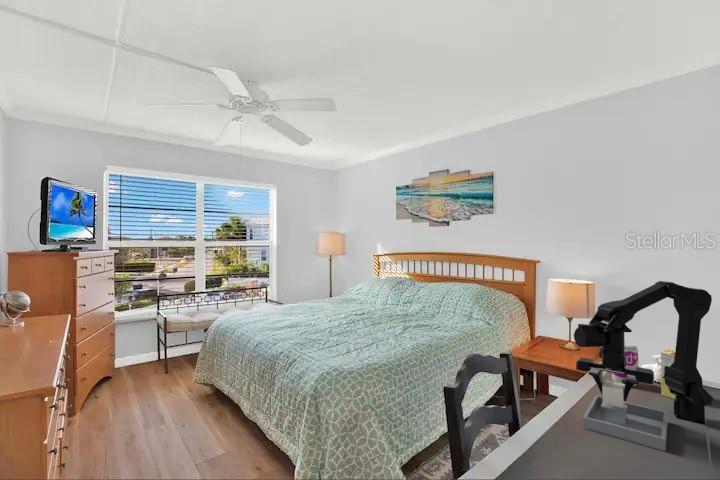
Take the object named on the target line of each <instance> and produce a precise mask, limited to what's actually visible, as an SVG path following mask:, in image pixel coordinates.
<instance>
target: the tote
mask: <svg viewBox="0 0 720 480" xmlns="http://www.w3.org/2000/svg"><path fill="white" fill-rule="evenodd" d="M602 402H603V396H602V395H594V397H593V399H592V400H591V402H590V404H589V406H588V408H587V409H586V411H585V413H583V416H582V428H583V429H586V430H590V431H593V432H597V433H600V434H603V435H607V436H610V437H614V438H618V439H621V440H624V441H627V442H628V441H629V442H631V443H635V444H638V445H641V446H644V447H648V448H652V449H656V450H658V451H662V452H666V450H667V439H668V438H667V436H668V426H669V425H668V423H669V419H668V418H669V417H668V411H666V410H662V409H657V408H652V407H648V406H644V405H640V404H639V405H638V404H636V403H631V402H625V405H628V420H627V423H626V426H623V425H620V424H616V423H612V422H608V421H605V420H601V404H602Z"/></svg>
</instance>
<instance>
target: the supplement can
mask: <svg viewBox="0 0 720 480" xmlns="http://www.w3.org/2000/svg"><path fill="white" fill-rule="evenodd" d="M624 342H625V355H626V365H627V366H626V367H625V368H626V369H631V370H636V368H637V367H639V348H638V347H637V345H636V344H635V343H632V342H627V341H624ZM617 371H619V370H617ZM626 379H627V375H622V374H617V373H611V380H612V382H616V383H621V384H625V382H626ZM636 385H637V386H638V385H640V383H639V384H634V385H633V386H635V387H637V386H636Z"/></svg>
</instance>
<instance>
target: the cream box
mask: <svg viewBox="0 0 720 480" xmlns="http://www.w3.org/2000/svg"><path fill="white" fill-rule="evenodd" d="M603 383H604V384H603V386H602V394H601V397H603V403H605V404H610V405H614V406H618V407H622V408H623V407H624V404H625V401H624V391H625V384H621V383H616V382H614V381H610V380H604V381H603Z"/></svg>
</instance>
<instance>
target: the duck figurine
mask: <svg viewBox="0 0 720 480" xmlns="http://www.w3.org/2000/svg"><path fill="white" fill-rule="evenodd" d="M651 357H652V359H654V361H655V364H652V363H647V364H643V365H641V366H640V368H646V369H651V370H652V371H653V372H654V381H656V382H655V383H657V382H660V383H659V384H661V353H658V354H651Z"/></svg>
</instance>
